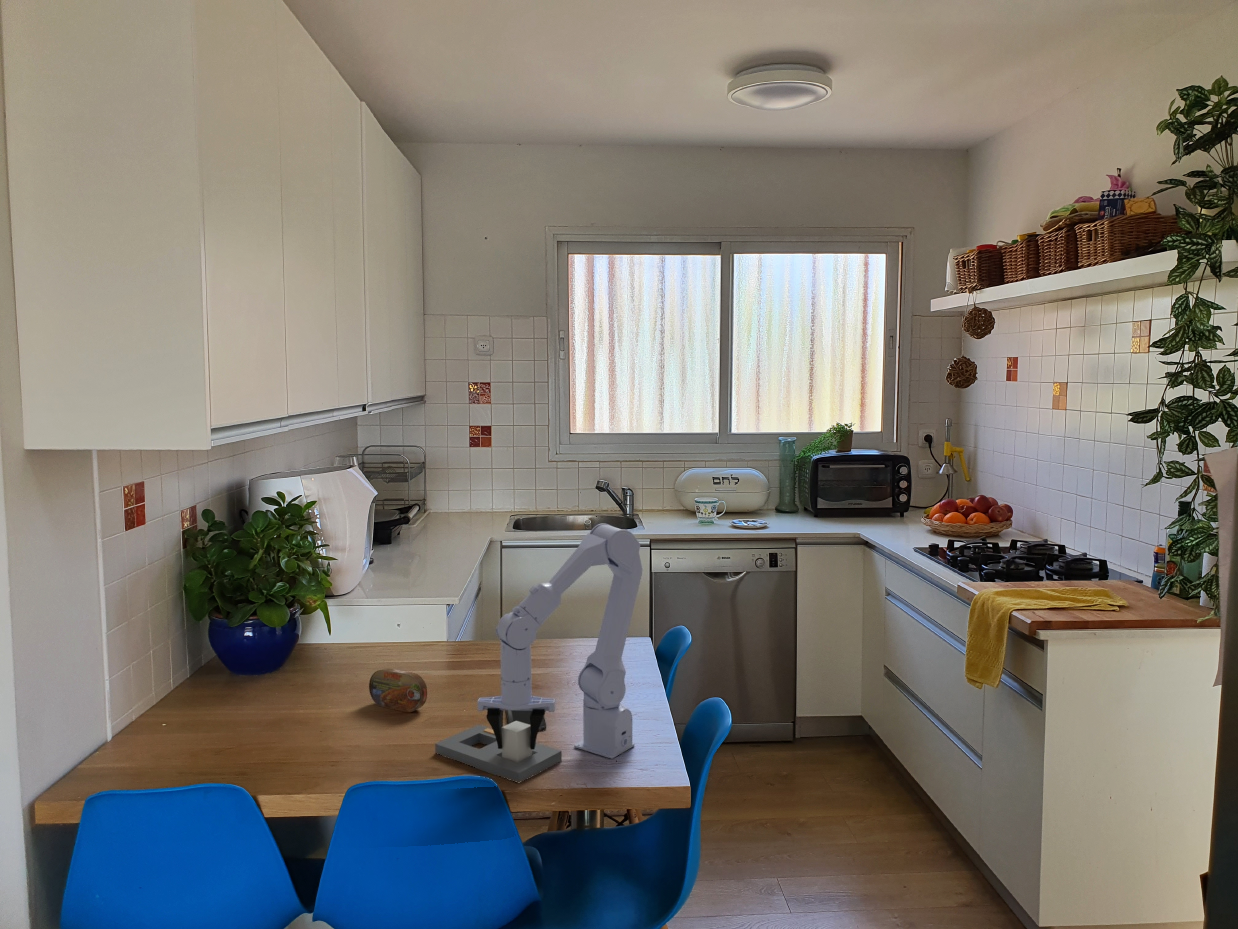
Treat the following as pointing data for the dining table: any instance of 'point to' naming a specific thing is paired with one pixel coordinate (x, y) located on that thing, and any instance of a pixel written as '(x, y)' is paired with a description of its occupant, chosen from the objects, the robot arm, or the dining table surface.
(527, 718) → the phone
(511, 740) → the plug
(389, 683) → the tin
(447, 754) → the socket plate
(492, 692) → the dining table surface
